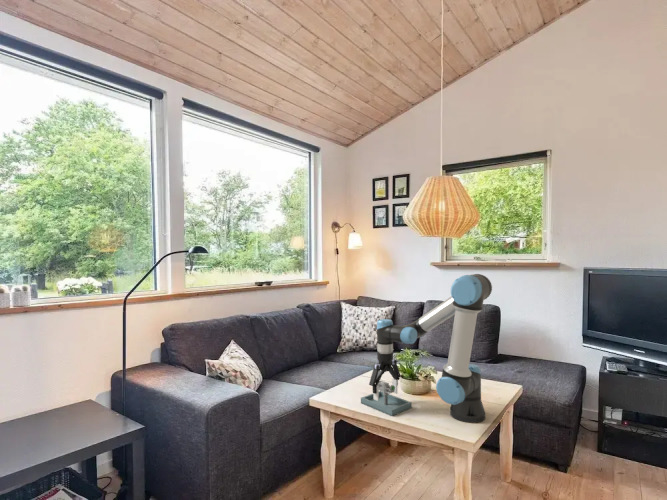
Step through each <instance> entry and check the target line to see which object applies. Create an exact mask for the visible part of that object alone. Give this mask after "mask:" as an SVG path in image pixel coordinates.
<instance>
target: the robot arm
mask: <svg viewBox="0 0 667 500" xmlns="http://www.w3.org/2000/svg"><path fill="white" fill-rule="evenodd" d="M492 291H493V285H492V282H491V280H490V279H489V278H488V277H487V276H485V275H484V274H480V273H475V274H474V273H473V274H466V275H465V274H464V275H461V276H459V277H457V278H456V279H455V280H454V281H453V282H452V284H451V286H450V295H451V296H450V297H448V298H447V299H445V300H444V301H442V302H441V303H440V304H438V305H436V306H435V307H434V308H432V309H431V310H430V311H428V312H426V313H425V314H423V315H422V316H420V317H419V318H417V319H416V320H415V321H414V322H413V321H412V322H411V323H408V324H405V325H396V324H394V322H393V320H392V319H387V318H383V319H382V318H381V319H379V320H378V319H377V322H376V334H377V335H376V338H377V339H376V340H377V341H376V342H377V343H376V346H377V347H376V349H377V356H376V357H377V358H376V360H377V362H378V364H376V363H374V364H373V367H372V368H373V369H372V373H371V376H370V380H369V383H368V385H369V386H370V387H372V394H373V399H374V400H377V401H378V400H379V391H380V390H379V387H378V386H377V385H378V383H379V381H381V378H383V377H382V376H383V375H384V374H385V373H387V372H389V374H390V375H391V377H392V379H391V385H393V386H394V387H395V389H394V392H393V394H395V395H396V394H398V385H399V383H398V382H399V381H400V378H401V377H402V375H401V372H400V369H399V367H398V361H397V360H396V359H394V353H393V352H394V342H396V343H400V344H401V343H402V344H406V345H407V344H410V345H413V344H414V343H416V341H417V339H419V338H422V337H424V336H425V335H426V334H428V332H430V331H431V330H433V329H435V328H436V327H438V326H439V325H441V324H442V323H444V322H446V321H447V320H449V319H451V318H452V317H453V316H454V319H453V326H452V331H451V339H450V345H449V350H448V351H449V352H448V358H447V363H446V364H444V365H443V366H442V372H441V377H440V378H438V380H437V382H436V385H435V388H436V393H437V395H438V396H439V398H440V399H441V401H443V402H444V403H446V404H448V405H450V406H449V407H450V408H449V414H450V415H449V416H450V417H452V418H453V419H455V420H458V421H460V422H465V423H472V424H473V423H474V424H475V423H481V422H483V421H485V420H486V411H485V407H484V404H483V401H482V373H481V368H480V366H479V365H477V364H473V363H471V362H470V361H471V357H472V356H471V355H472V349H473V342H474V336H475V330H476V324H477V317H478V314H479V313H480V312H482V311H483V305H484V301H485V300H487V299H488V298H489V297H490V296H491V294H492Z"/></svg>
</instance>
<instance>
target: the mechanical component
mask: <svg viewBox="0 0 667 500" xmlns="http://www.w3.org/2000/svg"><path fill="white" fill-rule="evenodd" d="M377 386H378V387H379V391H382V392H383V395H384V404H385V405H386V404H388V395H389V394H390V395H391V394H392V393H393V392H394V389H395V387H394V386H393V385H392V384H391V385H390V382H386V381H383V380H380V381H379V383H378V385H377ZM393 394H394V393H393Z"/></svg>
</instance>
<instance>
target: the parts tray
mask: <svg viewBox="0 0 667 500" xmlns="http://www.w3.org/2000/svg"><path fill="white" fill-rule="evenodd" d="M388 394H389V393H388ZM360 403H361V404H362V405H365V406H367V407H369V408H372V409H374V410H376V411H378V412H381V413H383V414H386V415H388V416H390V417H394V416H396V415H398V414H401V413H403V412H405V411H408V410H409V409H412V406H413V405H412V402H411V401H409V400H406V399H404V398H400V397H399V396H398V397H397V396H395V395H393V394H391V393H390V394H389V395H388V404H386V405H385V404H384V395H383V391H380V390H379V400H378V401H377V400H374V399H373V393H371V394H368V395H365V396H362V397H360Z"/></svg>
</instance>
